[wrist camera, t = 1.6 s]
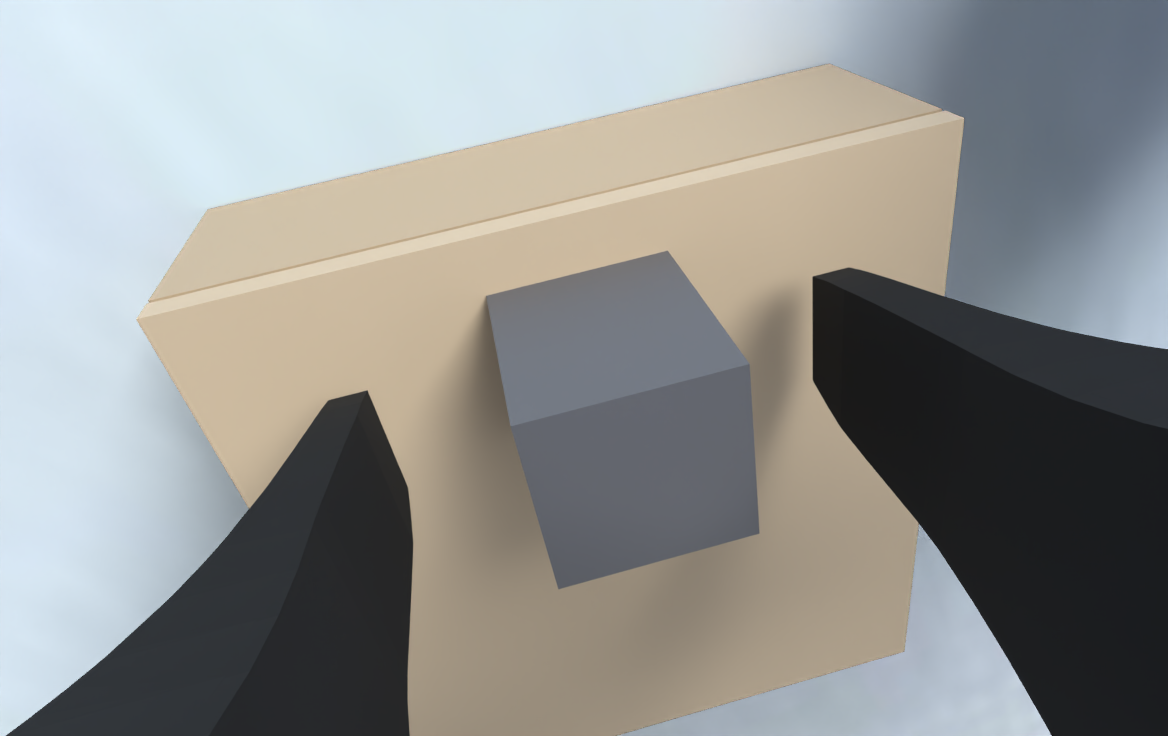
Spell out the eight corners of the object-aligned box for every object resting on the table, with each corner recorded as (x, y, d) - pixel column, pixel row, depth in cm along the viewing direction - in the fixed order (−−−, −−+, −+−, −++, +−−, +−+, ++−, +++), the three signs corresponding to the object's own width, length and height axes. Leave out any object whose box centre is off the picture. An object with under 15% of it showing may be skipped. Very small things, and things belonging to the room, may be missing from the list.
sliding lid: (945, 110, 12) (1145, 190, 9) (894, 635, 20) (990, 783, 17) (146, 304, 11) (36, 473, 8) (418, 774, 19) (419, 958, 16)
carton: (828, 63, 16) (941, 108, 12) (823, 528, 23) (892, 632, 20) (207, 209, 15) (148, 300, 11) (417, 641, 22) (418, 770, 19)
